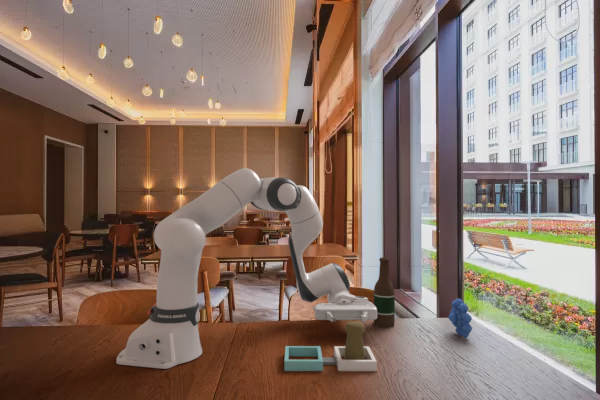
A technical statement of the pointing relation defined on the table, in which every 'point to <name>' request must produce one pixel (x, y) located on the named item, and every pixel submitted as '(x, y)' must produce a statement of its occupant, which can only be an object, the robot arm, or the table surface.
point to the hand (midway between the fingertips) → (348, 319)
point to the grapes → (460, 318)
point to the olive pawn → (354, 341)
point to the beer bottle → (384, 297)
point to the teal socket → (303, 364)
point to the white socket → (351, 361)
